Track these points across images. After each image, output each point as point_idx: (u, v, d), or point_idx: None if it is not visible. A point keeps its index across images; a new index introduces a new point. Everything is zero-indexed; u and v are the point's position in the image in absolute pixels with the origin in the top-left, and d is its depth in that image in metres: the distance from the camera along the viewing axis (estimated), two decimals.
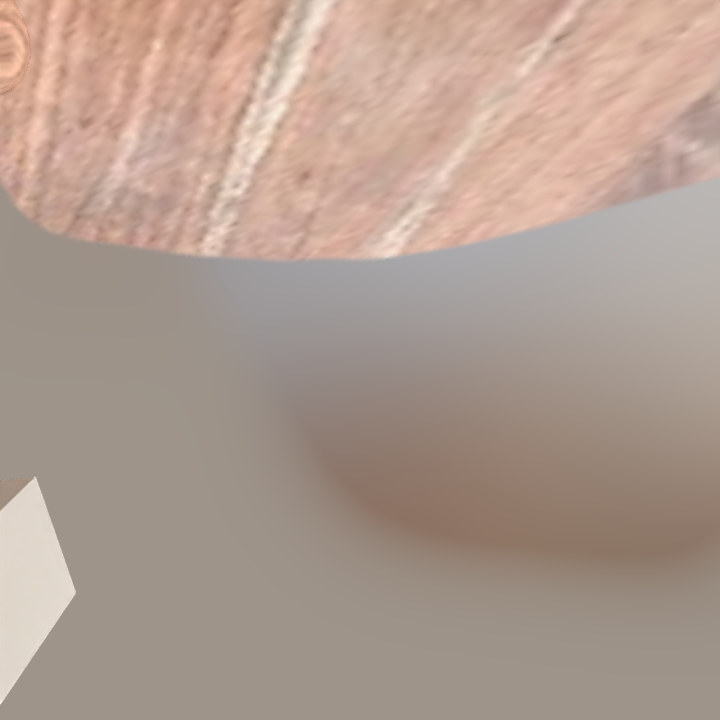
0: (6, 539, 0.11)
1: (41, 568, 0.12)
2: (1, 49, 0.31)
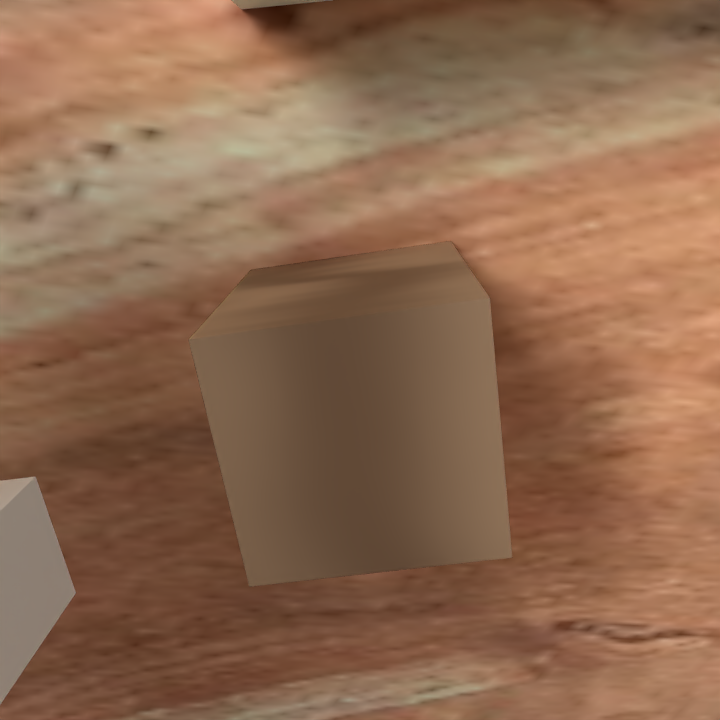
0: (6, 539, 0.11)
1: (41, 568, 0.12)
2: None
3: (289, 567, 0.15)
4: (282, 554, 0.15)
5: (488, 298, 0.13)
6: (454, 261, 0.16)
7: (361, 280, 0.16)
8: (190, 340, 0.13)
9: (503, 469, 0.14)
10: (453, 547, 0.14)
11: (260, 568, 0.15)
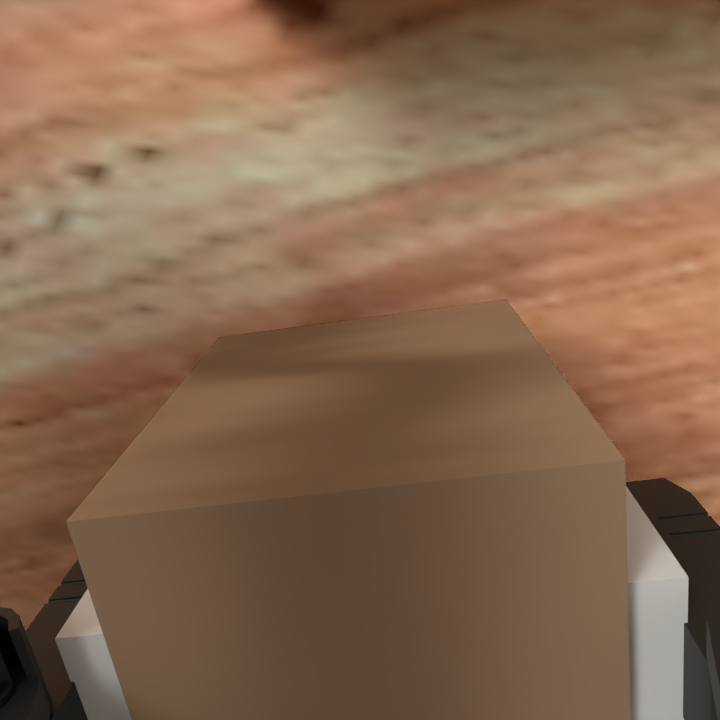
0: None
1: None
2: None
3: None
4: None
5: (622, 461, 0.07)
6: (524, 346, 0.10)
7: (378, 380, 0.10)
8: (69, 524, 0.07)
9: None
10: None
11: None
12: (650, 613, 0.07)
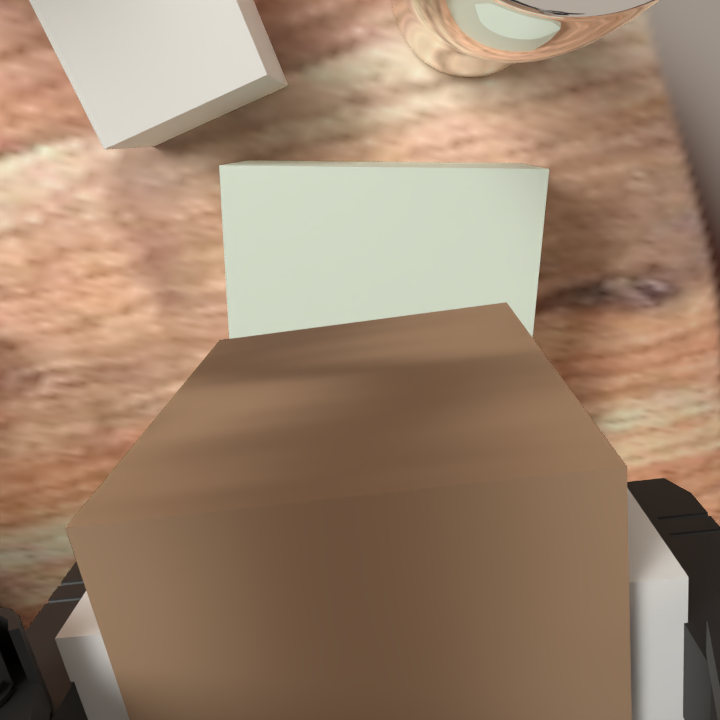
0: None
1: None
2: None
3: None
4: None
5: (623, 467, 0.07)
6: (525, 350, 0.10)
7: (379, 384, 0.10)
8: (68, 530, 0.07)
9: None
10: None
11: None
12: (650, 613, 0.07)
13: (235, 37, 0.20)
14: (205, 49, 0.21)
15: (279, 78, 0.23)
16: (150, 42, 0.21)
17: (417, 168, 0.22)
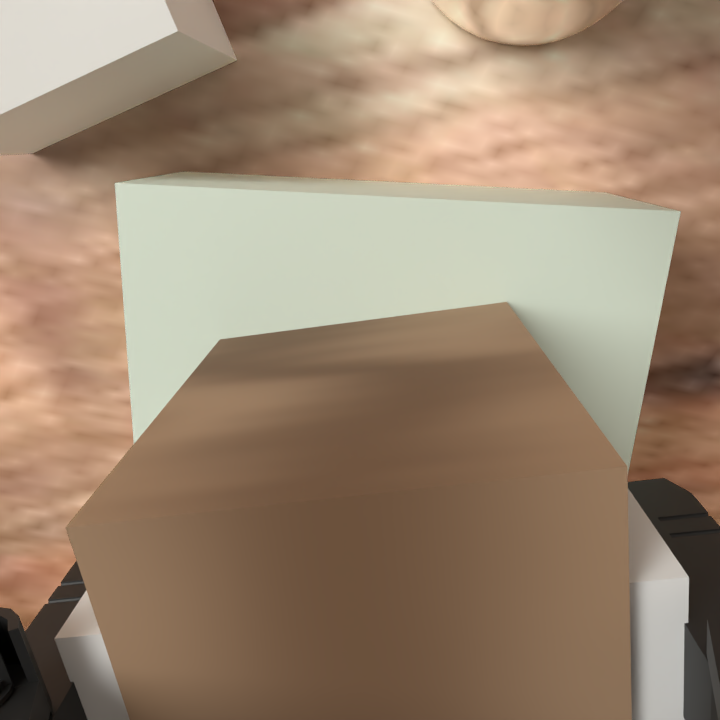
0: None
1: None
2: None
3: None
4: None
5: (624, 467, 0.07)
6: (525, 350, 0.10)
7: (379, 383, 0.10)
8: (69, 529, 0.07)
9: None
10: None
11: None
12: (651, 613, 0.07)
13: None
14: None
15: (215, 45, 0.14)
16: None
17: (454, 201, 0.13)
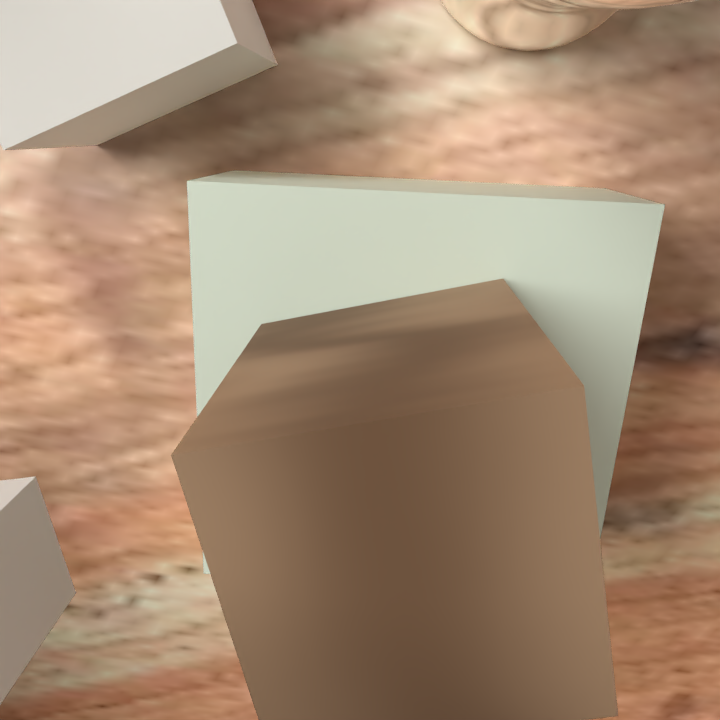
0: (6, 539, 0.11)
1: (41, 568, 0.12)
2: None
3: None
4: (312, 716, 0.11)
5: (582, 386, 0.09)
6: (516, 314, 0.13)
7: (398, 346, 0.12)
8: (173, 456, 0.10)
9: (605, 607, 0.10)
10: (538, 704, 0.11)
11: None
12: None
13: None
14: (145, 3, 0.14)
15: (262, 52, 0.17)
16: None
17: (472, 196, 0.15)
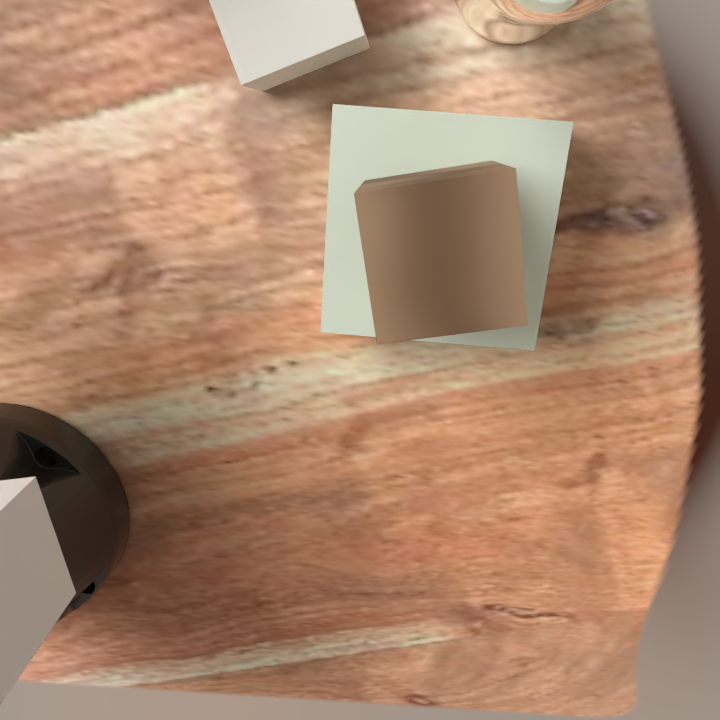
0: (6, 539, 0.11)
1: (41, 568, 0.12)
2: None
3: (400, 331, 0.26)
4: (397, 323, 0.26)
5: (515, 168, 0.24)
6: (495, 164, 0.27)
7: (440, 173, 0.27)
8: (355, 193, 0.24)
9: (522, 269, 0.25)
10: (494, 318, 0.26)
11: (383, 332, 0.26)
12: None
13: (344, 6, 0.28)
14: (321, 14, 0.29)
15: None
16: (282, 7, 0.29)
17: (477, 115, 0.30)
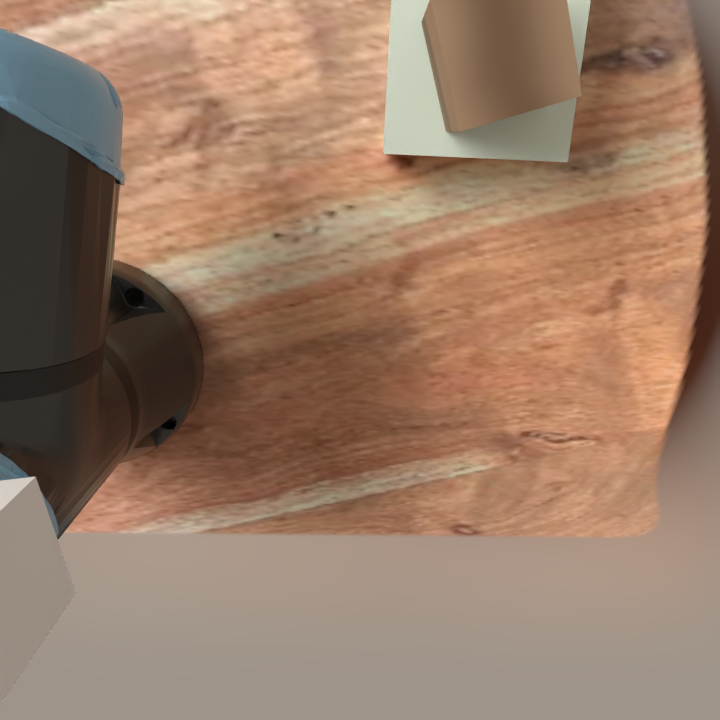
0: (7, 539, 0.11)
1: (41, 568, 0.12)
2: None
3: (477, 117, 0.32)
4: (474, 110, 0.32)
5: None
6: None
7: None
8: None
9: (573, 46, 0.30)
10: (554, 94, 0.31)
11: (464, 120, 0.32)
12: None
13: None
14: None
15: None
16: None
17: None
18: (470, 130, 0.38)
